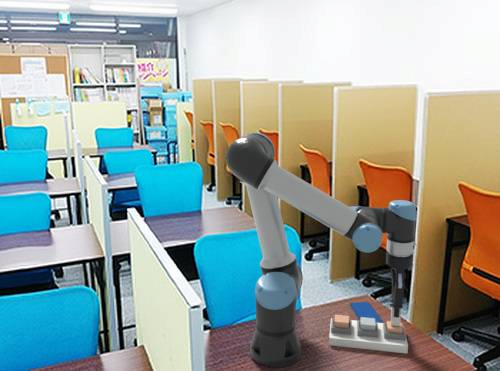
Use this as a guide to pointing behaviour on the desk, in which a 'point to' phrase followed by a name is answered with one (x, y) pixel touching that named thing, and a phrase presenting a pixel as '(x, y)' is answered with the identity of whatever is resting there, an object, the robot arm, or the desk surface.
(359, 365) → the desk surface
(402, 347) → the white button panel
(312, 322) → the desk surface
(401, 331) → the right key
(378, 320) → the smartphone
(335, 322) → the left key
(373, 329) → the middle key
